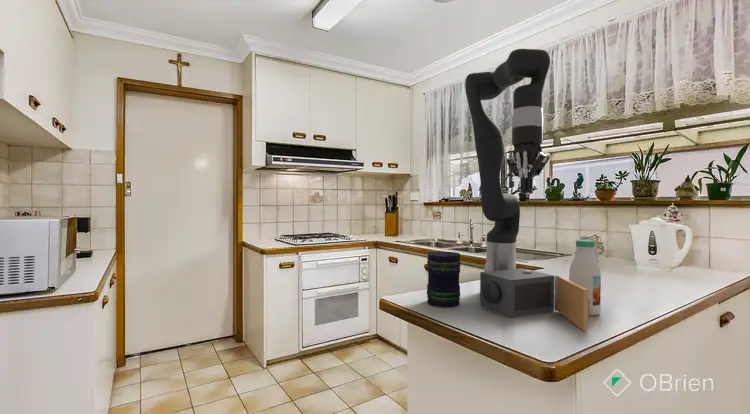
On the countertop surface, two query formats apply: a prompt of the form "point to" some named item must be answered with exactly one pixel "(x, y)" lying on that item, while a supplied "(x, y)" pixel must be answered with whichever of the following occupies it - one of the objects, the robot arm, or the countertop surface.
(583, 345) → the countertop surface
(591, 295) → the milk bottle
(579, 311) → the side door
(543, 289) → the camera body
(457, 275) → the storage jar
